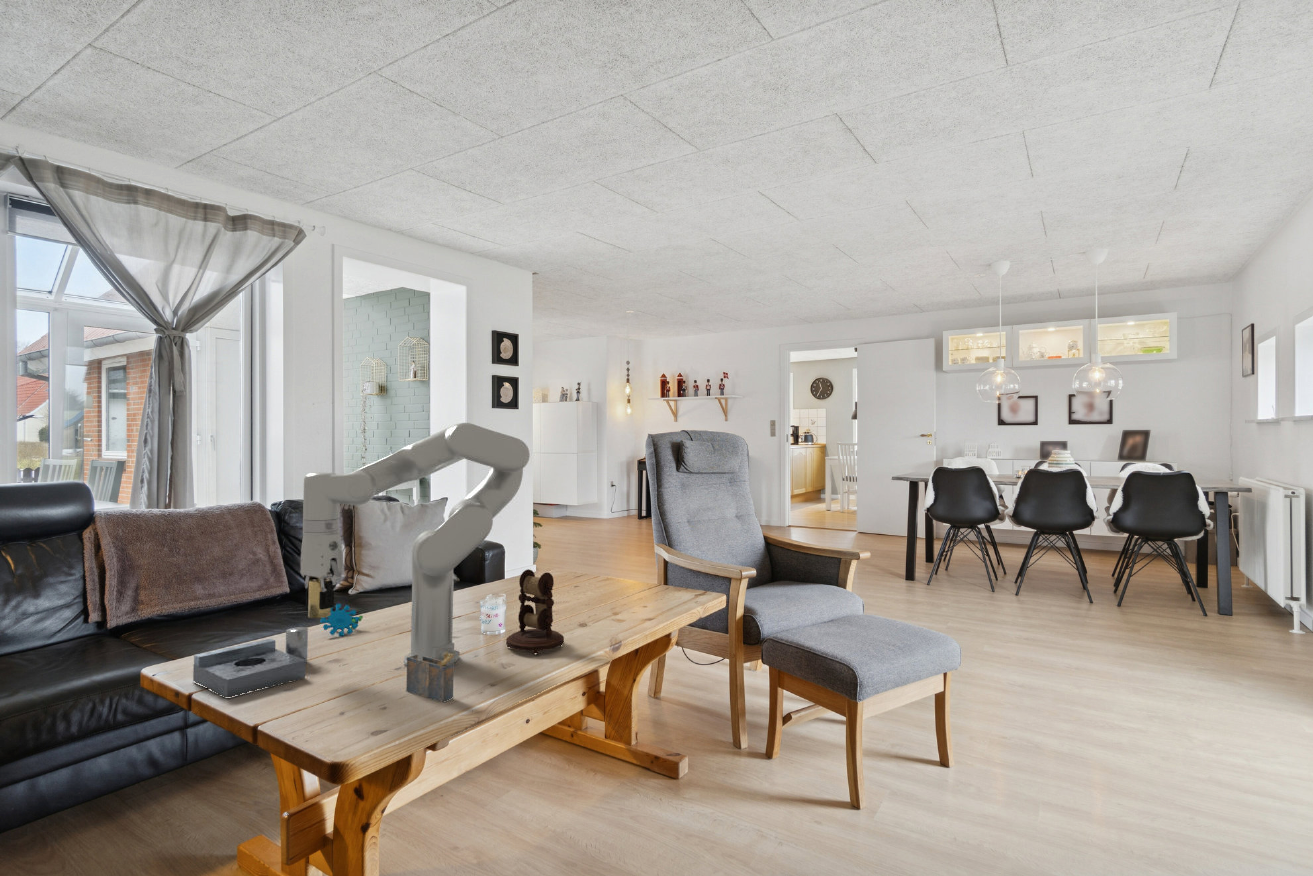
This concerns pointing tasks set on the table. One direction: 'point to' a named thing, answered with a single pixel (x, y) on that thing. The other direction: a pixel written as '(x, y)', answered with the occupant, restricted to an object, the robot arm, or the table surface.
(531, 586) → the brown spool rack
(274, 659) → the jig
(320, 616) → the brass cylinder plug
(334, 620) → the blue spiky piece
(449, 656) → the rusty open-top box
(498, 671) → the table surface
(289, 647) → the metal cylinder plug
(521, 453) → the robot arm
